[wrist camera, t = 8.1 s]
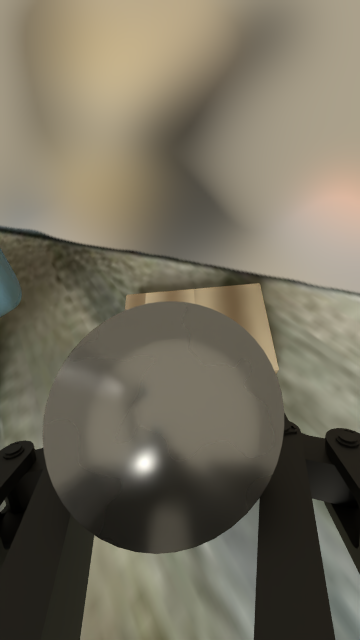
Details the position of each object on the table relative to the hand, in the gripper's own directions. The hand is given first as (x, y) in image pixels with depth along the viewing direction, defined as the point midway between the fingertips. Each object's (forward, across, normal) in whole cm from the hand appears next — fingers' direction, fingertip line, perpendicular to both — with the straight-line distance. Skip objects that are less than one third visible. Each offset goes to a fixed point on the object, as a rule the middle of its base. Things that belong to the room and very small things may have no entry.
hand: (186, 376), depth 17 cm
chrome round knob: (0, 0, -5) cm, 5 cm away
